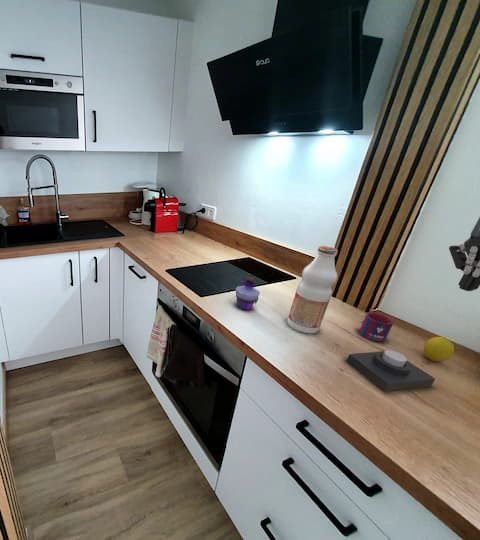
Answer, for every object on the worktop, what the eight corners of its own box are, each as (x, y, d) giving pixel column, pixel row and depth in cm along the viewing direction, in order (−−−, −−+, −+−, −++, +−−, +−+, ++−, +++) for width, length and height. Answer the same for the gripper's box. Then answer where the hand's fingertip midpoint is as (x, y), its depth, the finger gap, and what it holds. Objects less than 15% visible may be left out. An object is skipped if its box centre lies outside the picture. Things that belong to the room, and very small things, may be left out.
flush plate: (388, 357, 83) (394, 345, 81) (430, 386, 73) (439, 373, 71) (346, 361, 81) (351, 348, 79) (383, 391, 71) (391, 378, 69)
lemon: (446, 369, 79) (461, 346, 76) (419, 360, 82) (431, 337, 79) (444, 360, 83) (458, 337, 80) (418, 351, 86) (430, 329, 83)
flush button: (391, 355, 78) (394, 349, 77) (408, 366, 74) (411, 360, 73) (377, 356, 77) (380, 350, 76) (393, 368, 73) (397, 362, 72)
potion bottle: (259, 314, 103) (266, 284, 99) (234, 311, 105) (240, 282, 100) (253, 302, 111) (259, 274, 106) (230, 300, 112) (235, 272, 108)
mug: (361, 338, 92) (369, 320, 89) (355, 322, 100) (362, 306, 97) (387, 344, 89) (396, 326, 86) (379, 328, 97) (387, 311, 94)
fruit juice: (296, 334, 93) (323, 253, 82) (281, 318, 101) (303, 243, 90) (324, 334, 93) (355, 254, 82) (307, 318, 101) (332, 244, 90)
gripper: (566, 227, 57) (516, 302, 64) (481, 212, 69) (446, 277, 76) (537, 227, 56) (489, 304, 63) (455, 212, 68) (422, 278, 75)
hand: (465, 289), depth 69 cm, fingers closed
